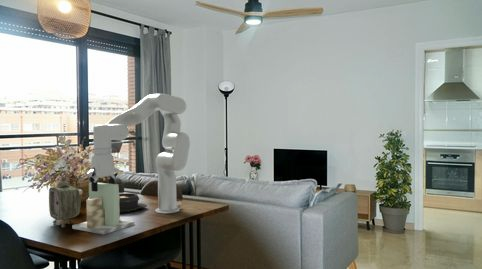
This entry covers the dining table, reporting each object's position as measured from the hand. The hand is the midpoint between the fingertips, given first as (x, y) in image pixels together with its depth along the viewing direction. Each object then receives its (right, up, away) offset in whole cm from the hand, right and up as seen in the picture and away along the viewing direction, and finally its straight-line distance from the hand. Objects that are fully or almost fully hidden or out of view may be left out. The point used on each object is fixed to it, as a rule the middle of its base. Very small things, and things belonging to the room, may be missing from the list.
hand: (103, 189), depth 175 cm
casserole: (-1, -17, +33) cm, 37 cm away
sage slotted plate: (0, -15, 0) cm, 15 cm away
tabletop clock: (-19, -17, +4) cm, 26 cm away
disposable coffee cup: (-26, -17, +29) cm, 42 cm away
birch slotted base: (0, -17, 0) cm, 17 cm away
